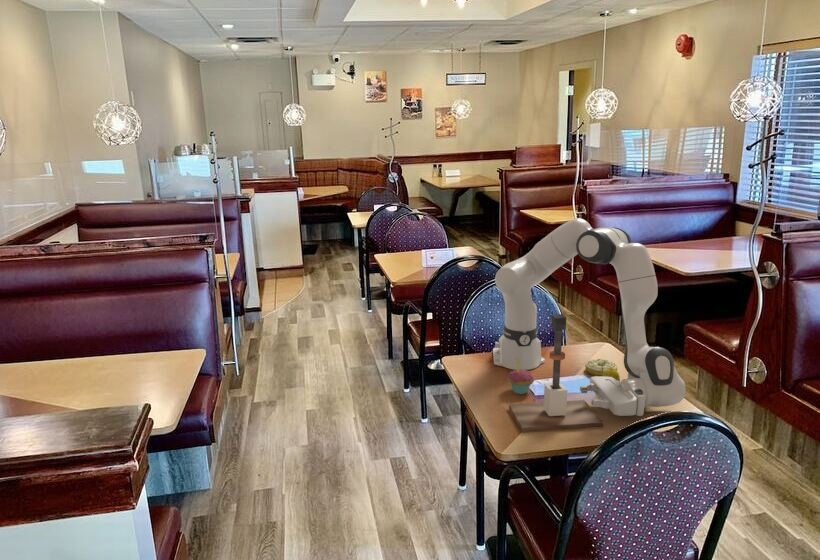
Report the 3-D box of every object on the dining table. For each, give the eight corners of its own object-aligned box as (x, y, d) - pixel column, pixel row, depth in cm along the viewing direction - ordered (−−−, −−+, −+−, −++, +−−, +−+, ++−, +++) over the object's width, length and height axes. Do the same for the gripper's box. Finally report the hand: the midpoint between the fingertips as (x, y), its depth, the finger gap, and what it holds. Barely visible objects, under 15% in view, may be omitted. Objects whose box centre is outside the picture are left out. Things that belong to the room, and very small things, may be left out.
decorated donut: (599, 364, 230) (600, 354, 229) (623, 374, 221) (624, 364, 220) (578, 370, 224) (579, 360, 223) (602, 381, 216) (603, 370, 215)
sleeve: (543, 408, 192) (544, 383, 190) (560, 407, 192) (561, 382, 190) (548, 416, 187) (550, 391, 185) (566, 415, 187) (567, 390, 185)
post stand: (509, 408, 196) (511, 310, 188) (584, 404, 199) (589, 306, 190) (522, 432, 182) (525, 326, 174) (602, 427, 184) (609, 322, 176)
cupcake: (518, 398, 203) (519, 363, 200) (501, 389, 210) (502, 355, 207) (538, 392, 208) (540, 358, 204) (521, 383, 215) (522, 350, 212)
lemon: (619, 394, 205) (621, 371, 203) (601, 393, 206) (603, 370, 204) (617, 387, 210) (619, 365, 208) (600, 386, 211) (601, 364, 209)
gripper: (617, 370, 200) (574, 372, 199) (647, 398, 180) (600, 401, 179) (615, 388, 202) (573, 391, 200) (645, 418, 182) (598, 421, 181)
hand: (586, 396), depth 190 cm, fingers open, 8 cm apart
